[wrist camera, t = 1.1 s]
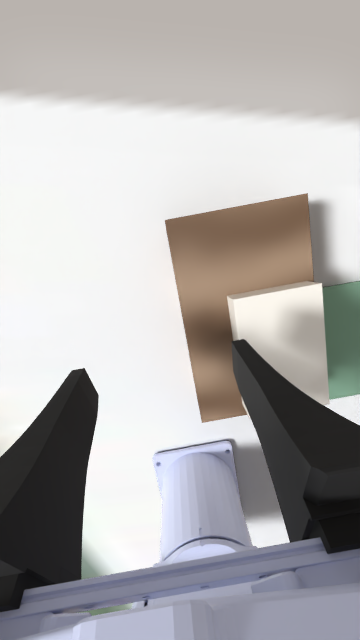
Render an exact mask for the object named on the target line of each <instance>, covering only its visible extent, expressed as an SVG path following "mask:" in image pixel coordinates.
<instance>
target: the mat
mask: <svg viewBox="0 0 360 640" xmlns="http://www.w3.org/2000/svg"><path fill="white" fill-rule="evenodd" d="M322 293H323V308H324V324H325V340H326V355H327V371H328V387H329V400H330V399H336V398H341V397H347V396H352V395H358V394H360V281H356V282H350V283H345V284H340V285H334V286H329V287H323V288H322Z"/></svg>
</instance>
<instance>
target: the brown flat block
mask: <svg viewBox="0 0 360 640" xmlns="http://www.w3.org/2000/svg"><path fill="white" fill-rule="evenodd" d="M165 224H166V230H167V235H168V241H169V246H170V252H171V257H172V263H173V268H174V274H175V279H176V284H177V290H178V295H179V301H180V306H181V312H182V317H183V323H184V328H185V333H186V339H187V344H188V350H189V355H190V361H191V366H192V372H193V377H194V382H195V388H196V393H197V399H198V404H199V409H200V414H201V420H202V423H203V422H209V421H214V420H220V419H226V418H231V417H237V416H242V415H248V414H247V412H246V410H245V408H244V406H243V404H242V397H241V394H240V392H239V389H238V386H237V383H236V379H235V376H234V372H233V361H232V343H231V341H233V335H232V328H231V321H230V314H229V307H228V300H227V296H229V295H234V294H240V293H245V292H251V291H256V290H261V289H267V288H272V287H278V286H283V285H288V284H294V283H299V282H305V281H310V282H314V277H313V263H312V249H311V235H310V221H309V206H308V193H307V194H302V195H296V196H291V197H286V198H280V199H275V200H270V201H264V202H259V203H254V204H248V205H243V206H238V207H232V208H227V209H222V210H216V211H211V212H206V213H200V214H195V215H190V216H184V217H179V218H174V219H168V220H165Z"/></svg>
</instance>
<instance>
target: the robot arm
mask: <svg viewBox="0 0 360 640" xmlns="http://www.w3.org/2000/svg"><path fill="white" fill-rule="evenodd" d="M231 343H232V361H233V372H234V376H235V379H236V383H237V386H238V389H239V392H240V394H241V397H242V399H243V401H244V404H245V406H246V408H247V411H248V413H249V415H250V418H251V420H252V422H253V425H254V427H255V429H256V432H257V434H258V437H259V440H260V443H261V446H262V449H263V452H264V455H265V458H266V462H267V465H268V468H269V471H270V475H271V478H272V481H273V484H274V488H275V491H276V495H277V498H278V501H279V505H280V508H281V512H282V515H283V519H284V522H285V526H286V529H287V533H288V537H289V540H290V543H285V544H280V545H274V546H268V547H263V548H257V547H256V546H253V545H252V542H251V538H250V535H249V531H248V528H247V524H246V521H245V517H244V514H243V510H242V507H241V500H240V494H239V488H238V482H237V475H236V469H235V463H234V457H233V450H232V445H231V443H230V442H229V441H222V442H216V443H211V444H205V445H200V446H194V447H189V448H183V449H178V450H172V451H167V452H161V453H156V454H154V455H153V464H154V468H155V473H156V477H157V481H158V485H159V489H160V494H161V498H162V514H161V540H160V563H157V564H154V565H153V567H150V568H145V569H139V570H133V571H128V572H122V573H116V574H111V575H105V576H100V577H94V578H88V579H83V580H81V557H82V528H83V510H84V496H85V485H86V474H87V467H88V460H89V455H90V450H91V445H92V440H93V435H94V430H95V425H96V420H97V413H98V393H97V391H96V390H95V388H94V386H93V384H92V382H91V380H90V378H89V376H88V374H87V372H86V370H85V368H83V369H78V370H72V371H71V373H70V374H69V375H68V377H67V378H66V379H65V381H64V382H63V384H62V385H61V386H60V388H59V389H58V391H57V392H56V393H55V395H54V396H53V397H52V399H51V400H50V401H49V403H48V404H47V405H46V407H45V408H44V409H43V410H42V412H41V413H40V414H39V415H38V417H37V418H36V419H35V420H34V422H33V423H32V424H31V425H30V426H29V428H28V429H27V430H26V431H25V432H24V433H23V434H22V436H21V437H20V438H19V439H18V440H17V441H16V442H15V443H14V444H13V445H12V446H11V447H10V448H9V449H8V450H7V451H6V452H5V453H4V454H3V455H2V456H1V457H0V640H360V425H358V424H356V423H354V422H352V421H350V420H348V419H346V418H344V417H342V416H340V415H339V414H337V413H335V412H334V411H332V410H330V409H329V408H327V407H325V406H324V405H322V404H320V403H319V402H317V401H316V400H314V399H313V398H311V397H310V396H308V395H307V394H305V393H304V392H302V391H301V390H300V389H298V388H297V387H296V386H294V385H293V384H292V383H290V382H289V381H288V380H287V379H286V378H284V377H283V376H282V375H281V374H280V373H278V372H277V371H276V370H275V369H274V368H273V367H272V366H271V365H270V364H268V363H267V362H266V361H265V360H264V359H263V358H262V357H261V356H260V355H259V354H258V353H257V352H256V351H255V350H254V349H253V347H252V346H251V345H250V344H249V343H248V342H247V341H246V340H245V339H241V340H235V341H231ZM227 449H228V450H229V451H226V450H227ZM157 462H160V464H158V463H157ZM128 603H133V605H132V608H131V609H128V610H122V611H116V612H111V613H105V614H99V615H95V616H92V615H91V614H90V613H77V612H83V611H88V610H94V609H100V608H105V607H111V606H117V605H122V604H128Z"/></svg>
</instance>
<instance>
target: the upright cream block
mask: <svg viewBox="0 0 360 640" xmlns="http://www.w3.org/2000/svg"><path fill="white" fill-rule="evenodd" d="M227 300H228V307H229V314H230V321H231V328H232V335H233V341H235V340H241V339H245V340H246V341H247V342H248V343H249V344H250V345H251V346H252V347H253V349H254V350H255V351H256V352H257V353H258V354H259V355H260V356H261V357H262V358H263V359H264V360H265V361H266V362H267V363H268V364H270V365H271V366H272V367H273V368H274V369H275V370H276V371H277V372H278V373H280V374H281V375H282V376H283V377H284V378H286V379H287V380H288V381H289V382H290V383H292V384H293V385H294V386H296V387H297V388H298V389H300V390H301V391H302V392H304V393H305V394H307V395H308V396H310V397H311V398H313V399H314V400H316V401H317V402H319V403H320V404H322V405H326V404H330V402H329V387H328V371H327V355H326V340H325V324H324V308H323V293H322V283H317V282H310V281H305V282H299V283H294V284H288V285H283V286H278V287H272V288H267V289H261V290H256V291H251V292H245V293H240V294H234V295H229V296H227ZM242 404H243V406H244V408H245V410H246V412H247V414H248V416H249V418H250V415H249V413H248V411H247V408H246V406H245V404H244V401H243V399H242Z"/></svg>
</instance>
